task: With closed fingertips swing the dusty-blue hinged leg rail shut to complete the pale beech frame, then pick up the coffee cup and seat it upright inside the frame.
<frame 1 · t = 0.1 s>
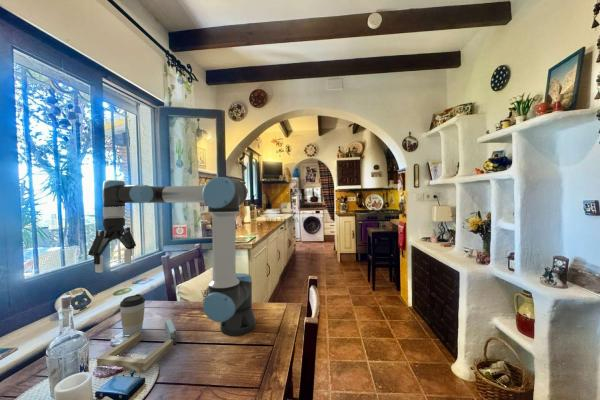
hand: (114, 267, 105), 28 cm above the table, fingers open, 13 cm apart
coffee cup: (132, 332, 107), on the table
leg: (170, 330, 104), point 2 cm above the table, hinge at -45.0°
frame: (140, 354, 91), on the table
pin: (174, 344, 97), on the table
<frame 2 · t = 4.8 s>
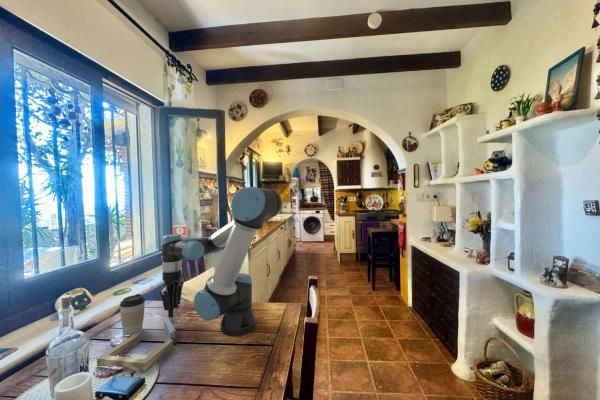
hand: (172, 323, 110), 2 cm above the table, fingers closed
leg: (170, 330, 104), point 2 cm above the table, hinge at -43.9°, touching gripper
everything else where it was.
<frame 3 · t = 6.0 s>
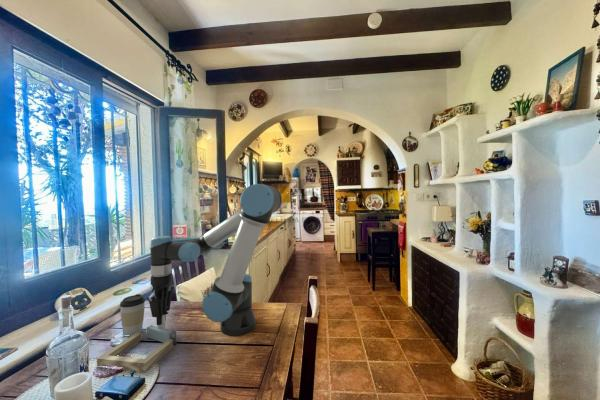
hand: (161, 331, 103), 2 cm above the table, fingers closed
leg: (159, 334, 100), point 2 cm above the table, hinge at -15.4°, touching gripper
everything else where it was.
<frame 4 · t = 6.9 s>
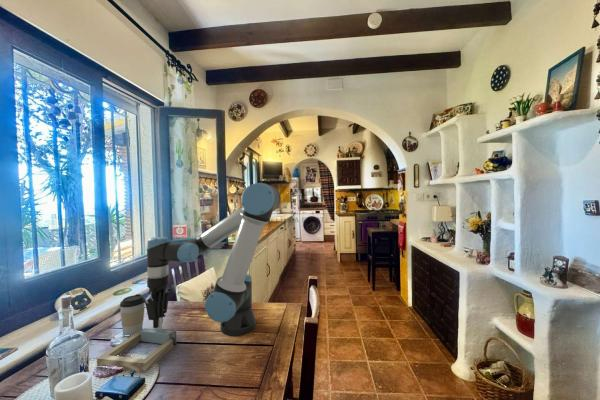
hand: (158, 334, 101), 2 cm above the table, fingers closed
leg: (156, 336, 99), point 2 cm above the table, hinge at -4.2°, touching gripper
everything else where it was.
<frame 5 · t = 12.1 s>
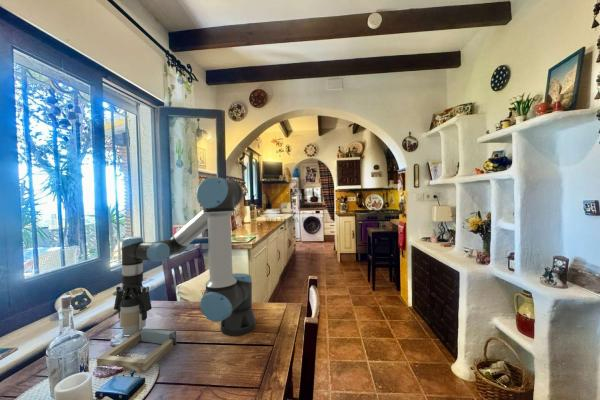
hand: (132, 326, 107), 2 cm above the table, fingers closed on coffee cup, 9 cm apart
coffee cup: (132, 332, 107), on the table, touching gripper
leg: (156, 336, 99), point 2 cm above the table, hinge at -4.1°
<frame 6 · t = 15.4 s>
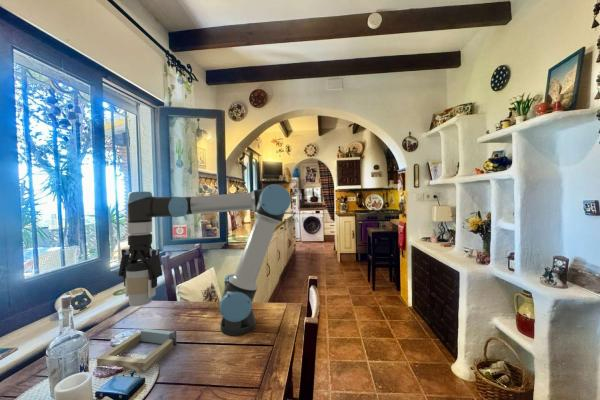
hand: (140, 295, 91), 21 cm above the table, fingers closed on coffee cup, 8 cm apart
coffee cup: (140, 303, 91), point 19 cm above the table, touching gripper
everything else where it was.
when the fingers open (4 cm above the table, at t = 19.0 s): coffee cup drops 2 cm, on the table.
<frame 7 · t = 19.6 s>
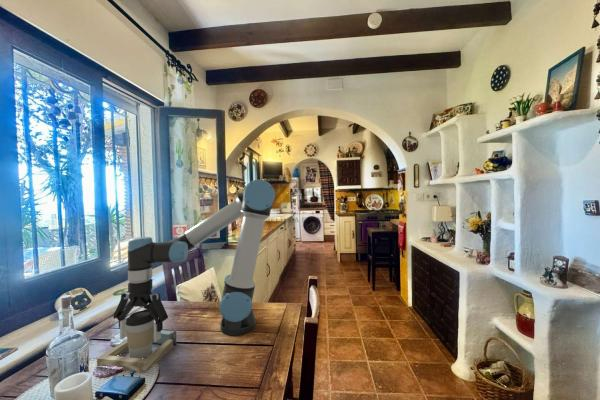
hand: (140, 338, 91), 6 cm above the table, fingers open, 13 cm apart
coffee cup: (140, 354, 91), on the table
everything else where it was.
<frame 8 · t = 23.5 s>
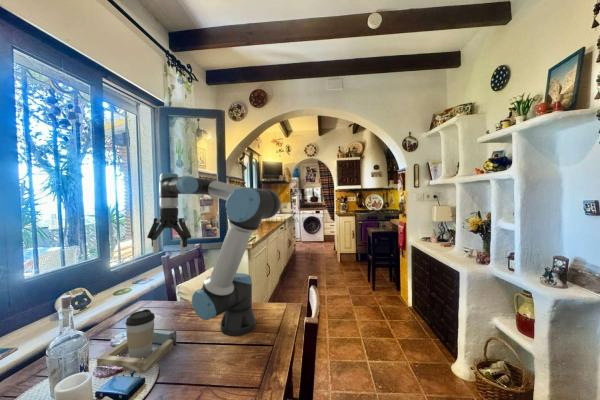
hand: (169, 254, 114), 32 cm above the table, fingers open, 13 cm apart
nothing on the table moved.
at the end: leg at -4° (first picture: -45°); coffee cup inside the target area (0.0 cm from its centre), on the table; coffee cup tilted 0° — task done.
